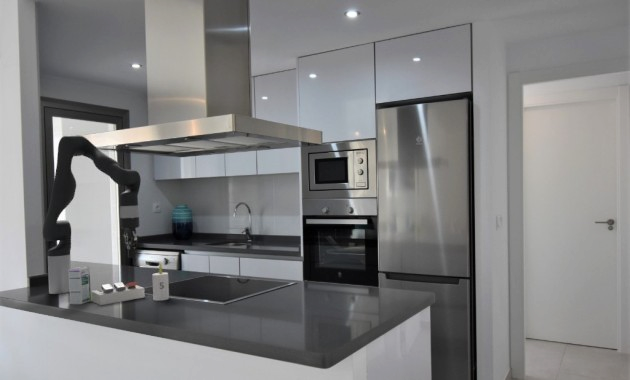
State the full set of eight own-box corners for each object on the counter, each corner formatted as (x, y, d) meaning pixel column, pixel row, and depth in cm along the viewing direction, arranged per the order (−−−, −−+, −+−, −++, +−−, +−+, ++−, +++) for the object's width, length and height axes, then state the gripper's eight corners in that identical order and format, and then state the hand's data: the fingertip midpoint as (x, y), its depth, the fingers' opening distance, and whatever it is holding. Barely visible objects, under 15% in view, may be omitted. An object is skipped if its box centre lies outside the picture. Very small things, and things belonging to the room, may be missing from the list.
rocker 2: (113, 286, 200) (113, 283, 200) (121, 285, 203) (121, 281, 202) (117, 290, 197) (118, 287, 197) (125, 289, 199) (125, 286, 199)
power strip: (91, 300, 200) (90, 289, 200) (147, 291, 216) (146, 280, 216) (100, 305, 191) (100, 293, 191) (158, 294, 207) (157, 284, 207)
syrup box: (82, 304, 193) (80, 268, 193) (69, 304, 195) (68, 268, 195) (91, 301, 199) (90, 266, 199) (78, 301, 200) (77, 266, 200)
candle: (154, 301, 194) (153, 264, 194) (152, 298, 200) (151, 262, 200) (170, 299, 197) (168, 263, 197) (167, 296, 203) (166, 261, 203)
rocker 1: (101, 288, 197) (101, 285, 197) (109, 287, 199) (109, 283, 199) (105, 293, 194) (105, 289, 193) (113, 291, 196) (113, 288, 195)
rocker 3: (126, 287, 204) (125, 284, 204) (133, 286, 206) (133, 283, 206) (130, 286, 200) (129, 282, 200) (137, 284, 202) (137, 281, 202)
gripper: (115, 217, 204) (117, 257, 203) (126, 217, 193) (127, 259, 193) (133, 216, 208) (134, 255, 208) (144, 216, 198) (146, 257, 198)
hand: (131, 257), depth 201 cm, fingers closed
